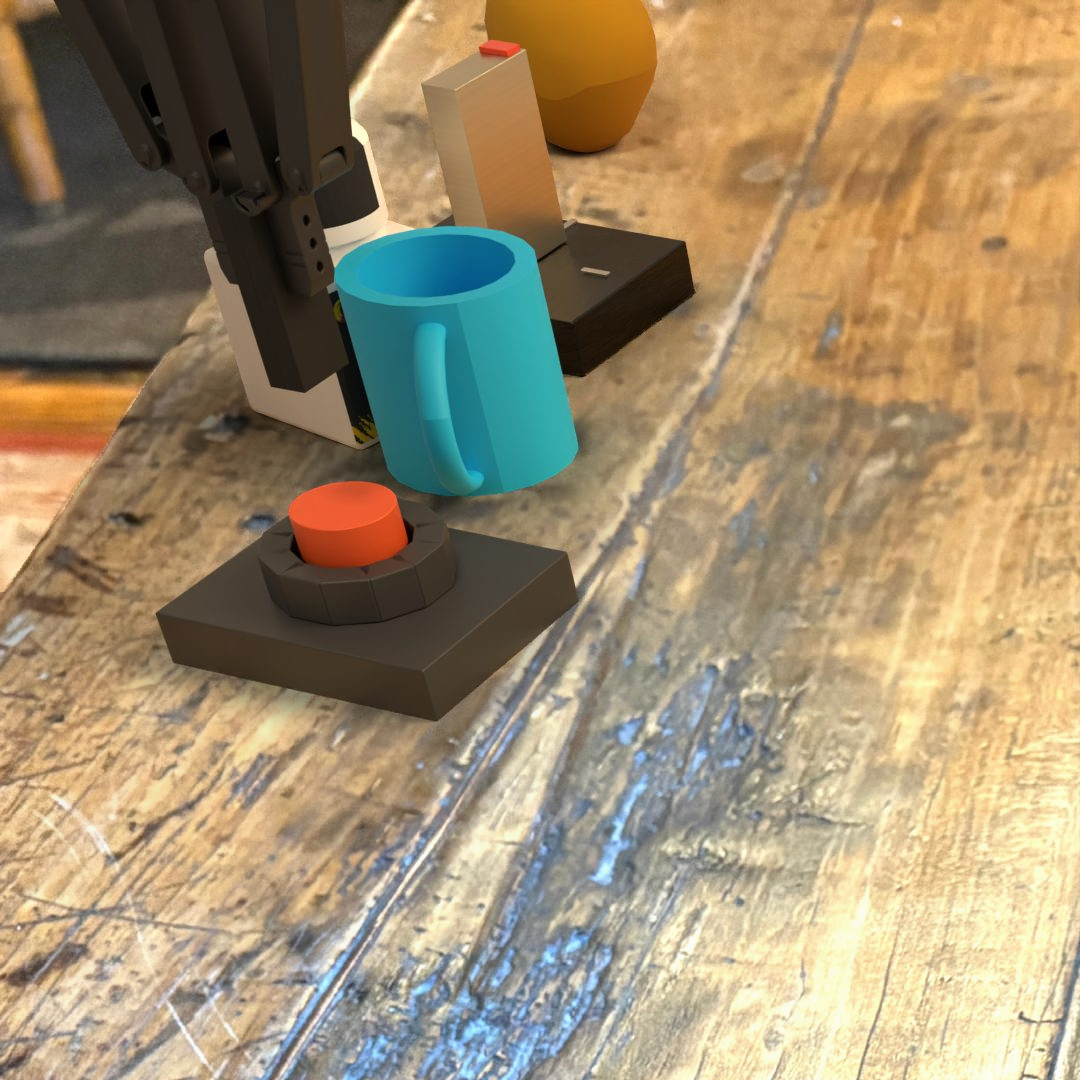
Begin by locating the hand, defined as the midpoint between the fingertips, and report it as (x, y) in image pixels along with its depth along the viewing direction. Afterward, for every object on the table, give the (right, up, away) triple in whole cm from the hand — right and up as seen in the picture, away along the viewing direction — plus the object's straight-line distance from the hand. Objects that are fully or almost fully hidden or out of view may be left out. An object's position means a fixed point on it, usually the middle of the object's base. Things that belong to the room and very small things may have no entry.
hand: (310, 374), depth 98 cm
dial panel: (-2, +15, +28) cm, 32 cm away
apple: (-4, +30, +43) cm, 53 cm away
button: (0, -5, +5) cm, 7 cm away
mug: (0, +3, +17) cm, 17 cm away
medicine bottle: (-7, +7, +22) cm, 24 cm away
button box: (-1, -7, +8) cm, 11 cm away
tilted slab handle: (-2, +16, +27) cm, 31 cm away
